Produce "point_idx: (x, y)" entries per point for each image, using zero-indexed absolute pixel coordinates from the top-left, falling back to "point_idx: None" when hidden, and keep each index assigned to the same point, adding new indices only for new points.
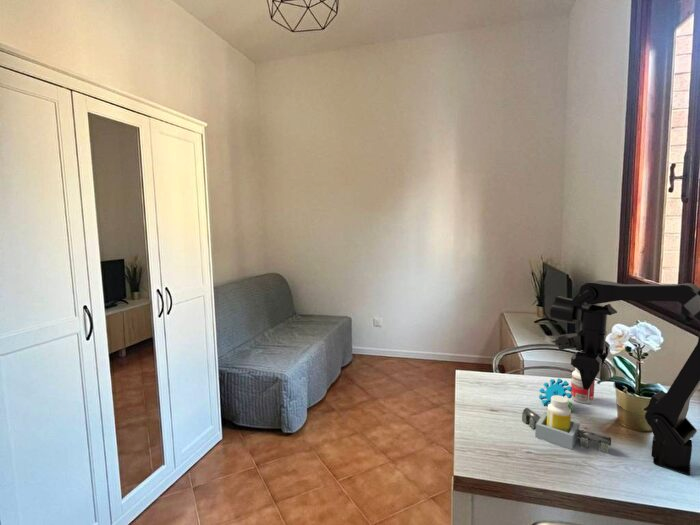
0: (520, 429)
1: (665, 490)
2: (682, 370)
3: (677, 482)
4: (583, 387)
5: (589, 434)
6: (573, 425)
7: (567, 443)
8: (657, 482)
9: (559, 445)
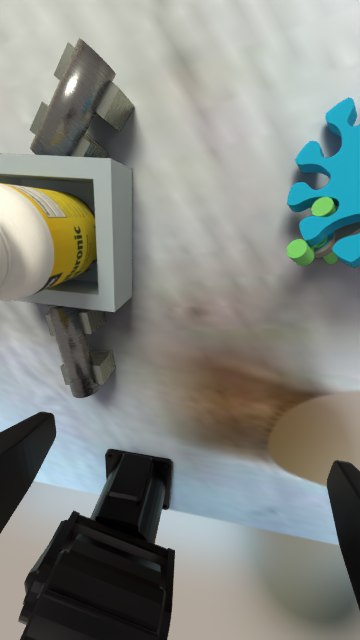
0: (19, 88)
1: None
2: None
3: (70, 470)
4: (29, 418)
5: (58, 342)
6: (70, 293)
7: None
8: None
9: None
